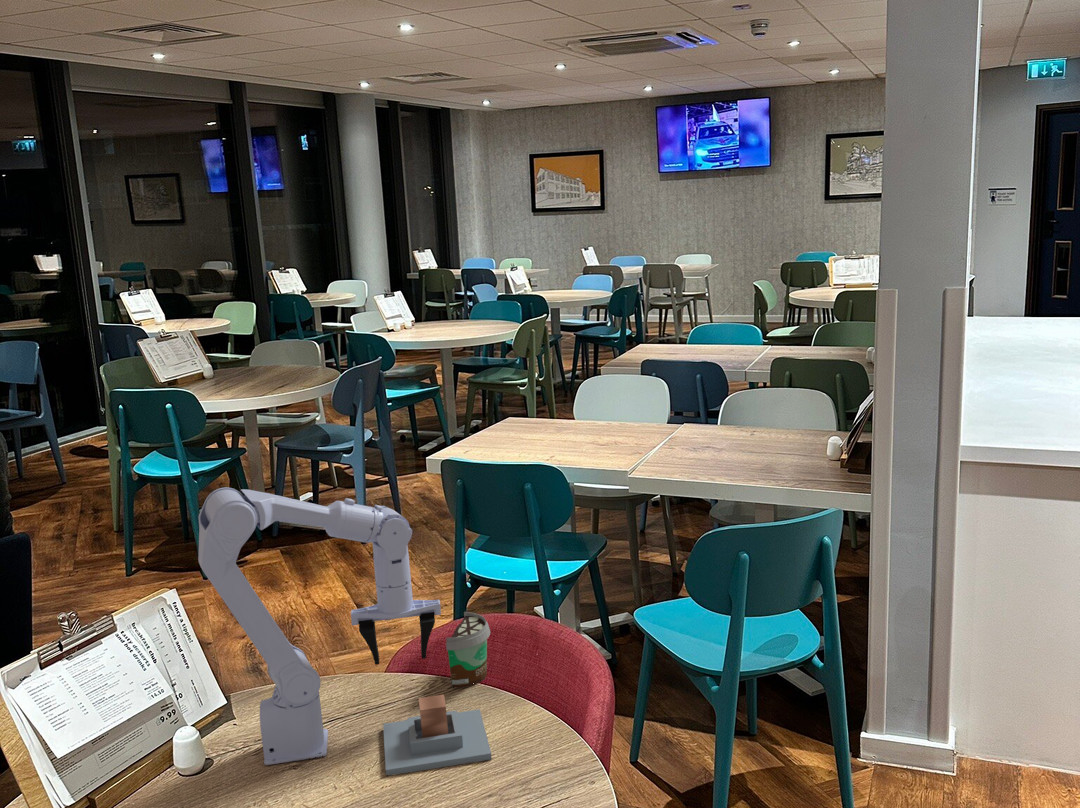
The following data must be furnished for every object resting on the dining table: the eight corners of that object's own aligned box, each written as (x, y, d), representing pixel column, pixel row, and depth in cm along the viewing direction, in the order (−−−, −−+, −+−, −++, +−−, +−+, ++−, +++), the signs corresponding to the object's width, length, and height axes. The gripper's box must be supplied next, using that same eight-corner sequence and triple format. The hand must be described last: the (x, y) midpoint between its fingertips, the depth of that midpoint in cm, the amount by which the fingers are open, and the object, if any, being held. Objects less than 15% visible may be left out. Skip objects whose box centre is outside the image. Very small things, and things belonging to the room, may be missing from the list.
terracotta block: (423, 745, 149) (420, 710, 148) (421, 732, 153) (418, 698, 152) (448, 741, 150) (445, 706, 149) (446, 729, 154) (443, 694, 153)
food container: (483, 693, 167) (479, 640, 165) (449, 692, 168) (445, 639, 166) (500, 661, 179) (496, 611, 177) (468, 660, 180) (464, 610, 178)
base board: (386, 776, 143) (384, 757, 143) (383, 729, 157) (382, 712, 156) (491, 759, 146) (490, 741, 146) (480, 714, 160) (478, 698, 159)
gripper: (436, 568, 161) (442, 643, 164) (349, 578, 159) (356, 654, 161) (438, 583, 154) (445, 661, 157) (347, 593, 152) (355, 672, 155)
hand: (400, 659), depth 159 cm, fingers open, 7 cm apart
